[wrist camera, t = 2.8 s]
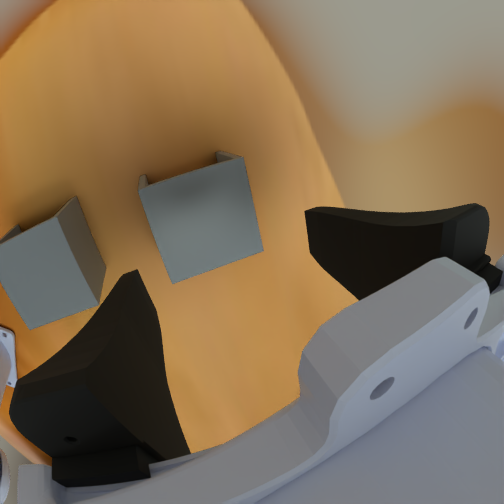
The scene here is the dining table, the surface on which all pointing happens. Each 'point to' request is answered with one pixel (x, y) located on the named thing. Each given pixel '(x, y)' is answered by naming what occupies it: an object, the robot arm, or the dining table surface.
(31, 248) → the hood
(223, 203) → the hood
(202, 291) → the dining table surface
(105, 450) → the robot arm
